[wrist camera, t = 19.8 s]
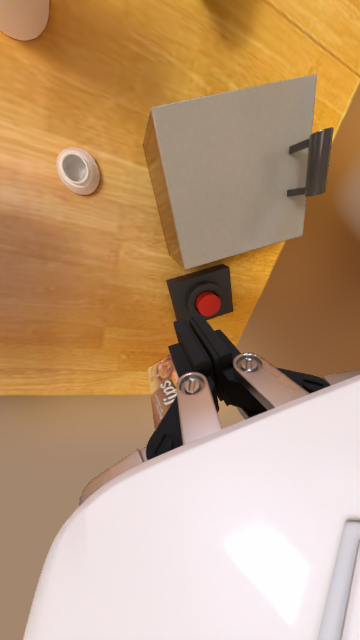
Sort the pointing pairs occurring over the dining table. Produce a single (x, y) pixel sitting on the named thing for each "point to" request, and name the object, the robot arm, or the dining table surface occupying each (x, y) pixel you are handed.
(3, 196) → the dining table surface
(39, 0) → the cylindrical container
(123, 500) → the robot arm
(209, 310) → the button
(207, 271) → the switch block
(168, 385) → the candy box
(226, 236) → the grey box lid
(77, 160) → the lidless jar
